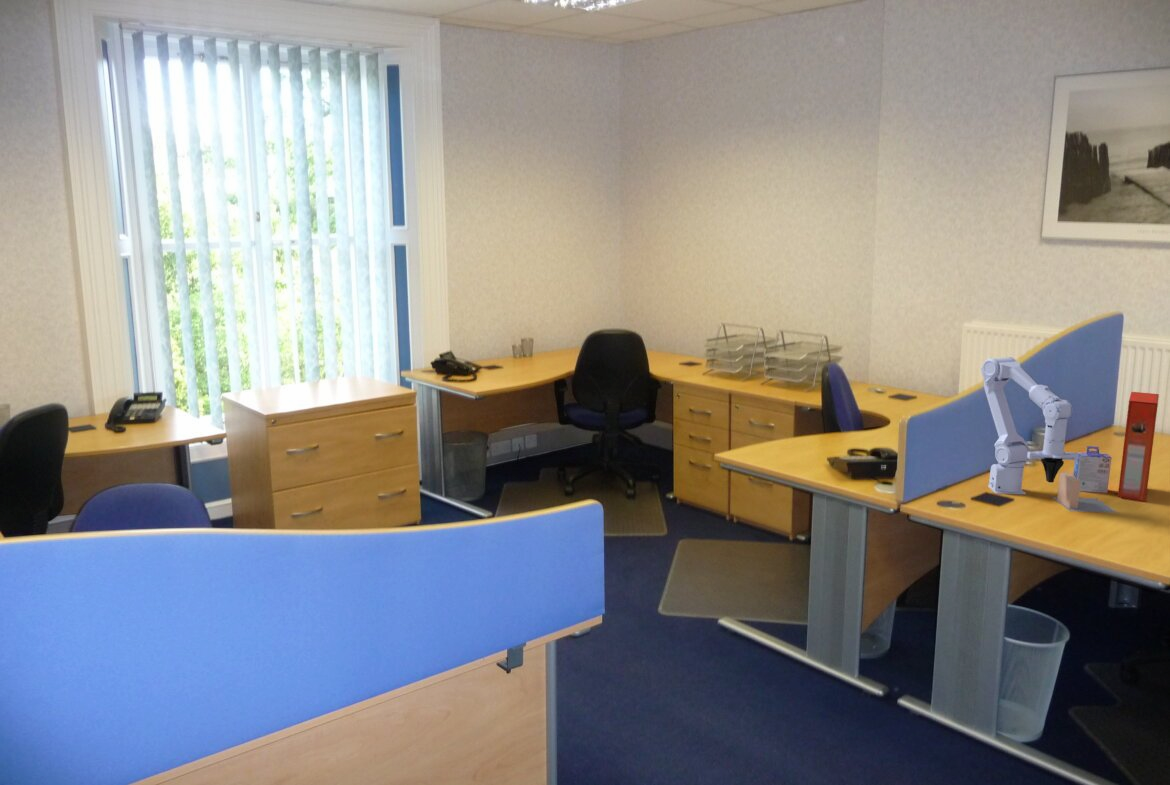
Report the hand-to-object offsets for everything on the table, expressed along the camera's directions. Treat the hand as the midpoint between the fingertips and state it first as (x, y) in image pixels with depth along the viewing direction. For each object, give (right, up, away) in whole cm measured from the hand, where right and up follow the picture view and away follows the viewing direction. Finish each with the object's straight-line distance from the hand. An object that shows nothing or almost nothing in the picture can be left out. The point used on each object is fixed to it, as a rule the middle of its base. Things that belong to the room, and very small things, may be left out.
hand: (1049, 481), depth 289 cm
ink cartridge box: (+21, -5, +17) cm, 27 cm away
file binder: (+34, -5, +14) cm, 37 cm away
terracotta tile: (+6, -7, +1) cm, 9 cm away
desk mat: (+11, -8, +1) cm, 13 cm away
